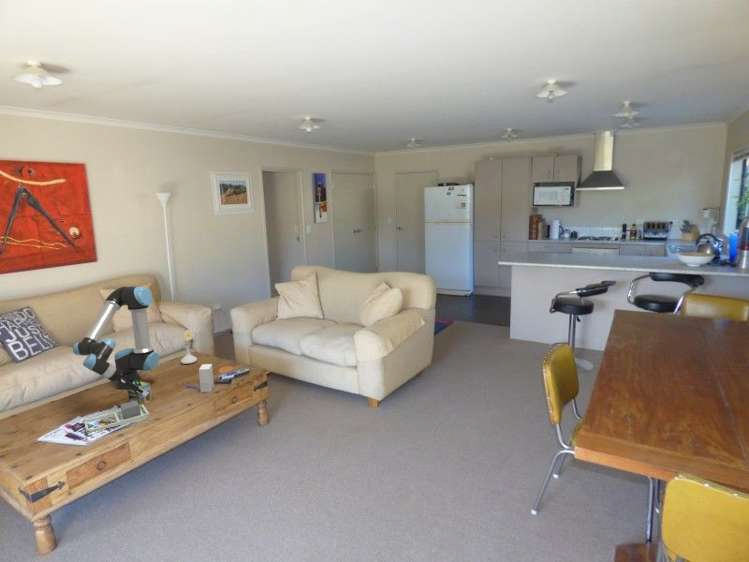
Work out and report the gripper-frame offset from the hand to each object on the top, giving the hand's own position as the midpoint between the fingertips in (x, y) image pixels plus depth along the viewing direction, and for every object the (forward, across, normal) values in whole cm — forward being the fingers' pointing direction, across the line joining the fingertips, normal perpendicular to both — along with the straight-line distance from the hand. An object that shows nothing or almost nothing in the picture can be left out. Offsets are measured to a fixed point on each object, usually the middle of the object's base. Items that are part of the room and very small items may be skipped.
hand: (144, 390), depth 271 cm
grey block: (-3, +17, -12) cm, 21 cm away
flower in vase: (+33, -51, +23) cm, 65 cm away
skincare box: (+29, +7, +19) cm, 35 cm away
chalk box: (+3, 0, -7) cm, 8 cm away
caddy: (-8, +17, -18) cm, 26 cm away
